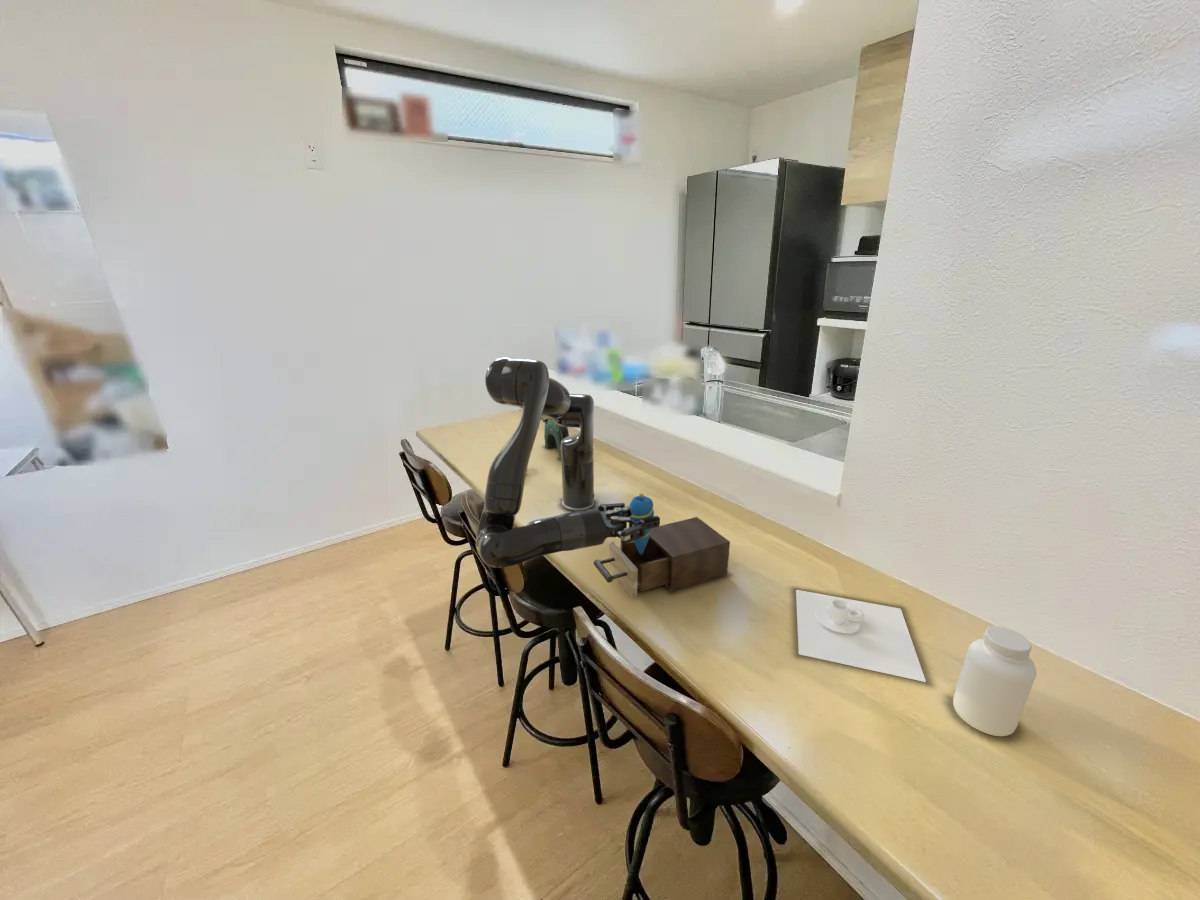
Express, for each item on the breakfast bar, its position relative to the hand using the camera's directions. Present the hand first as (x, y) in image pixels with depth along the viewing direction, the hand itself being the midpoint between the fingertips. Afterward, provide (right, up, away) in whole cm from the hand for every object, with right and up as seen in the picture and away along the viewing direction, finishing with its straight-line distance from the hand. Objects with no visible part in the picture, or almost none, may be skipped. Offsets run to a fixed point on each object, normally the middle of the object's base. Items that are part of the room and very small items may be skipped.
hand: (652, 515), depth 105 cm
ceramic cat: (-27, +13, +82) cm, 87 cm away
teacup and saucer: (+37, -21, -11) cm, 44 cm away
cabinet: (+8, -14, +9) cm, 18 cm away
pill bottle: (+48, -28, -29) cm, 62 cm away
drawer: (-3, -14, +4) cm, 15 cm away
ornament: (-2, -9, +2) cm, 10 cm away
